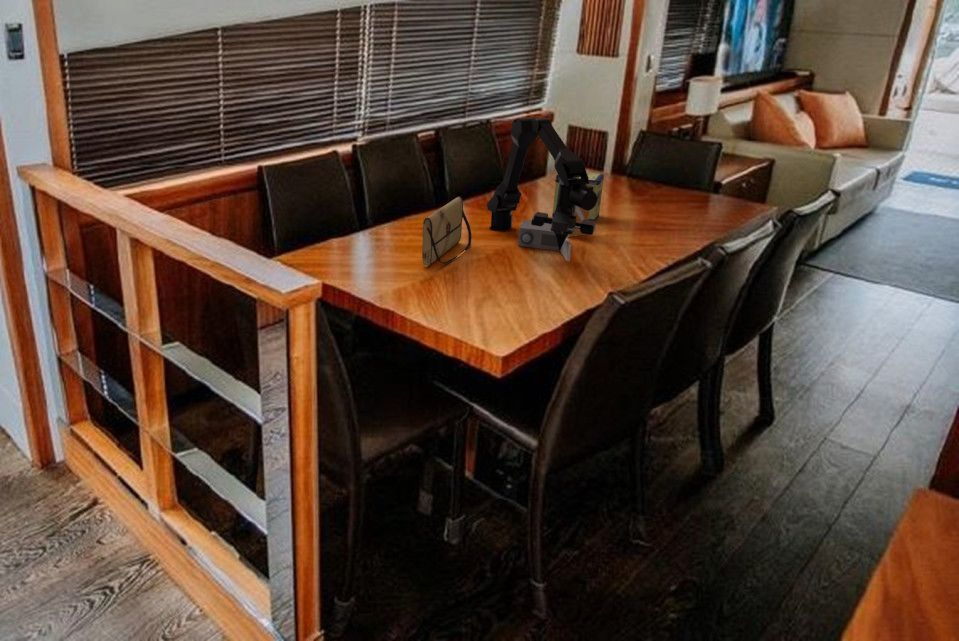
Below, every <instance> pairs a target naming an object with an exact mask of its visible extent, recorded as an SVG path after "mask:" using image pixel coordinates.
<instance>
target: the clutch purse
mask: <svg viewBox="0 0 959 641" xmlns="http://www.w3.org/2000/svg"><path fill="white" fill-rule="evenodd" d="M463 221H464V223H465V225H466V229H467V233H468V235H467V236H468V237H467V238H468V239H467V240H468V241H467V245H466V246H465V248H464V249H463V250H462V251H461V252H463V251H464V250H467V249H468V250H469V249H470V248H471V244H472V230H471V226H470V224H469V221H468V219H467V217H466V214H465V211H464V202H463V198H462V197H461V196H457V197H455V198H454V199H452V200H451V201H450V202H448V203H447V204H445V205H444V206H441V208H438V210H436V211H435V212H433V213H432V214H429V216H427V217H426V218H424V220H423V222H422V223H423V225H422V249H421V250H422V252H421V254H422V258H421V259H422V263H423V265H426V266H429V267H430V266H431V265H432V264H434V262H436V259H437V261H438V262H439V263H441V264H449V263H451V261H452V260H453V259H455V258H456V257H457V255H456V256H454V257H452V258H450V259H448V260H445V261H441V259H440V257H442V255H444V254H445V253H446V252H447V251H449V250H450V249H451V248H453V247H454V246H455V245H456V244H458V243H460V241H461V240H462V239H461V238H462V230H463V228H462V223H463ZM457 242H458V243H457ZM455 260H456V259H455ZM453 261H454V260H453ZM453 261H452V262H453ZM431 263H432V264H431Z"/></svg>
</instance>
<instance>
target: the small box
mask: <svg viewBox="0 0 959 641" xmlns="http://www.w3.org/2000/svg"><path fill="white" fill-rule="evenodd" d="M574 216H576V218H577V220H576V222H581V223H582V221H583V219H584V220H588V218H589V211H587V210H584V209H582V208H580V207H578V206H576V208H575V215H574ZM579 236H587V234H582V233H581V232H580V229H577V228H575V230H574V232H573V234H569V235H568V236H567V238H574V237H579Z"/></svg>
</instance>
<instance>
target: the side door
mask: <svg viewBox="0 0 959 641" xmlns="http://www.w3.org/2000/svg"><path fill="white" fill-rule="evenodd" d="M559 252H560V253H561V255H562V256H563V258H564V259H565V260H566V262H570V260H571V254H572V243H571V241H570V240H569V239H568V237H567V238H566V240H565V242H564V244H563V246H562V248H561V250H560V251H559Z"/></svg>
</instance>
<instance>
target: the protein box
mask: <svg viewBox="0 0 959 641" xmlns="http://www.w3.org/2000/svg"><path fill="white" fill-rule="evenodd" d="M587 175H588V177H589V178H588V179H589V184H586V185H588V186H592V187H593V191H594V192H595V193H596V195H597V198H598V199H597V203H596V205H595V207H594V208H593V209H591V210H589V218H588V220H590V221H595V222H596V221H597V219H598V218H599V216H600V210H601V204H602V193H603V187H604V177H605V175H604V174H602V173H593V172H587ZM557 178H559V175H558V173H557V174H556V175H555V180H556V179H557ZM572 179H581V178H580V177H579V178H570V180H572ZM558 190H559V183H557V182H555V185H554V196H553V204H552V205H553V207H552V212H551V213H552V215H551V218H553V215H554V212H555V210H556V205H557V198H558Z"/></svg>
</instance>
